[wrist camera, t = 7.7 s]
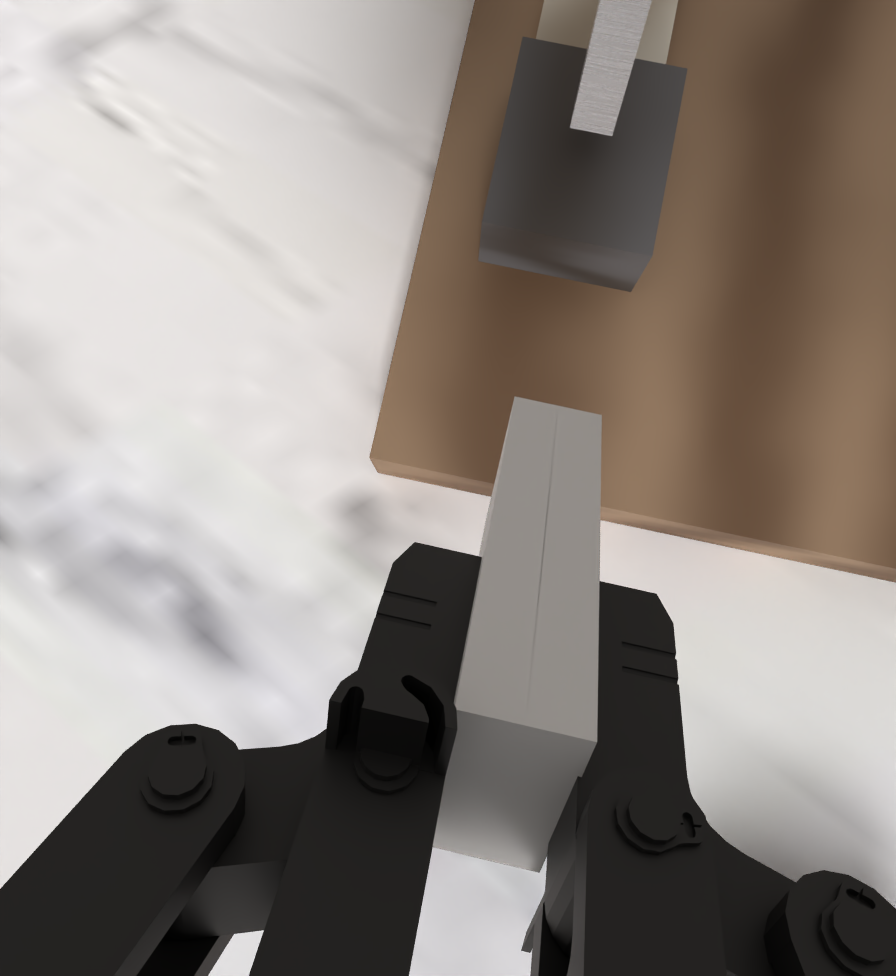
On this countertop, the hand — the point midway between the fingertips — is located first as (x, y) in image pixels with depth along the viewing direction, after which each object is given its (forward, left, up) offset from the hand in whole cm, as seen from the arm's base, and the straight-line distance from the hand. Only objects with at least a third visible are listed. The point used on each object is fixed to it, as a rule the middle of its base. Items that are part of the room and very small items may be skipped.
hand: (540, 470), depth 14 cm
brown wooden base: (-7, -11, -13) cm, 19 cm away
